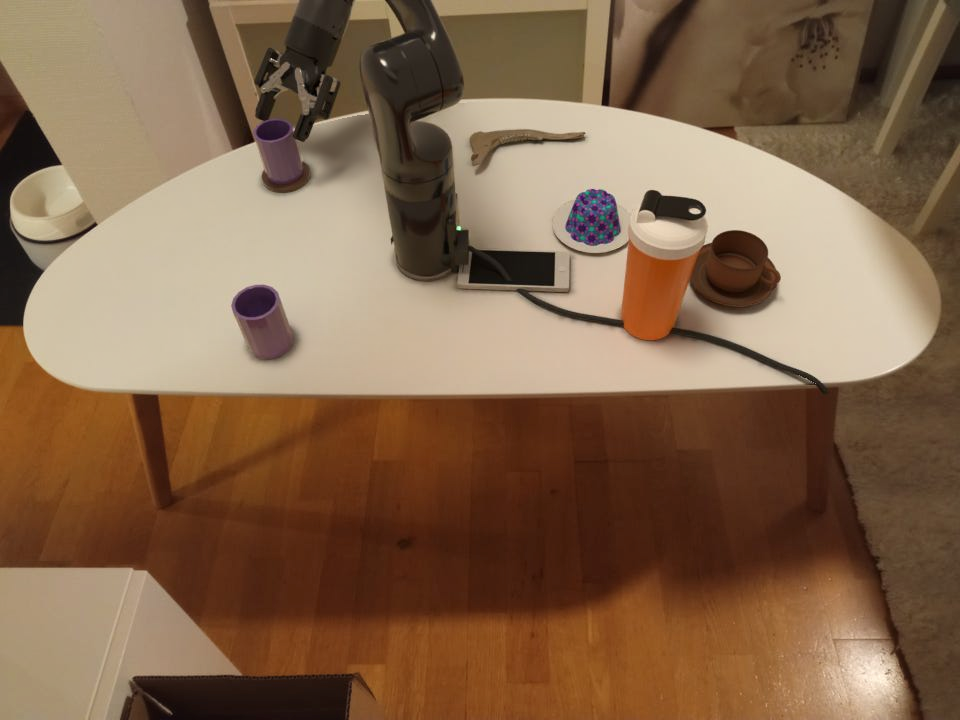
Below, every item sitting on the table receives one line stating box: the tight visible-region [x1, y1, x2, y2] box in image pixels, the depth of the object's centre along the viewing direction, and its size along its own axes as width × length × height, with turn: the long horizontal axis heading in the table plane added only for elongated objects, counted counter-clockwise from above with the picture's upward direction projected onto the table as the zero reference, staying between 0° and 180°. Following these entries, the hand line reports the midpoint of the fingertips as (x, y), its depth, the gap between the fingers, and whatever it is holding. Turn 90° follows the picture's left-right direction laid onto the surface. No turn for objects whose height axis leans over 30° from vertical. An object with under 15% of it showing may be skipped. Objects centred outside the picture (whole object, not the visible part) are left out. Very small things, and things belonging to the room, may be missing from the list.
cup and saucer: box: [689, 229, 782, 307], centre depth 103 cm, size 12×12×6 cm
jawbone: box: [469, 128, 587, 167], centre depth 125 cm, size 9×20×2 cm, turn 115°
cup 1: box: [252, 117, 304, 184], centre depth 118 cm, size 6×6×8 cm
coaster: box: [261, 160, 311, 193], centre depth 122 cm, size 8×8×1 cm
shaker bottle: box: [620, 188, 709, 341], centre depth 93 cm, size 9×9×20 cm
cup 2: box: [230, 284, 294, 360], centre depth 98 cm, size 6×6×8 cm
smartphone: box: [456, 248, 571, 293], centre depth 107 cm, size 7×16×1 cm, turn 86°
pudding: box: [551, 188, 631, 254], centre depth 110 cm, size 12×12×5 cm
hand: (279, 129), depth 116 cm, fingers open, 8 cm apart
